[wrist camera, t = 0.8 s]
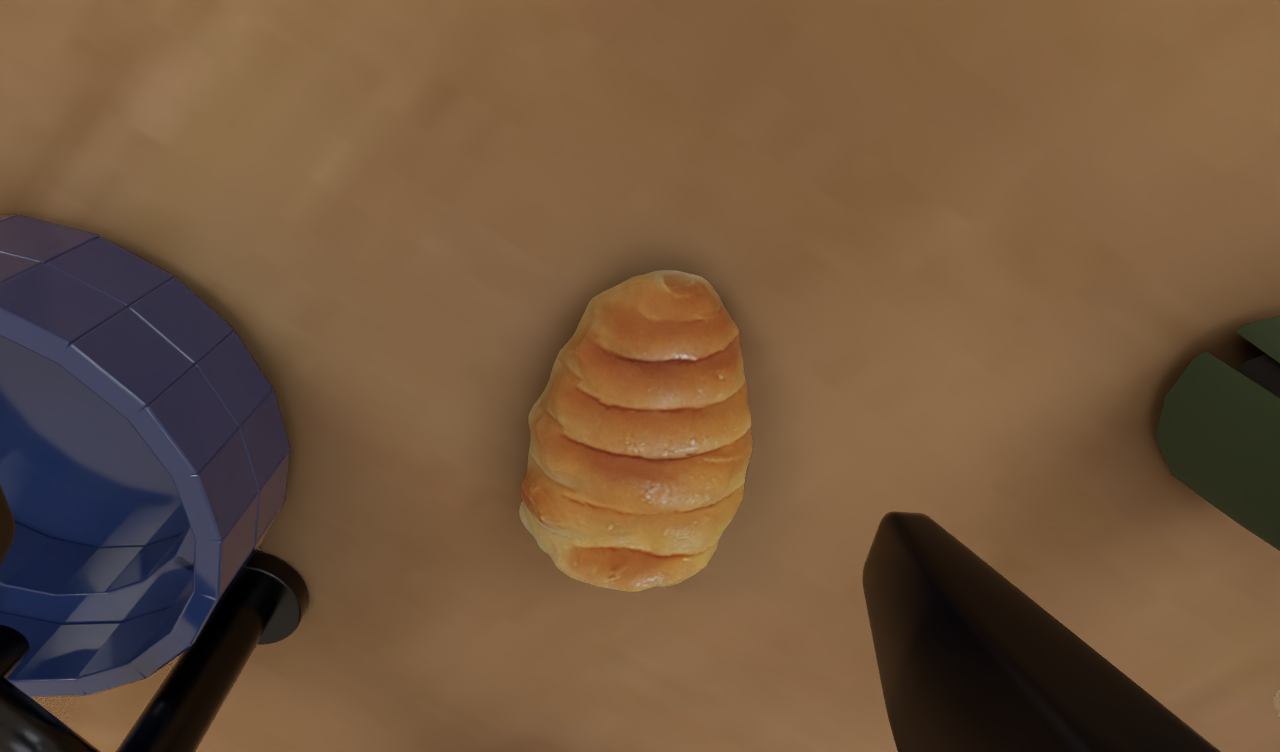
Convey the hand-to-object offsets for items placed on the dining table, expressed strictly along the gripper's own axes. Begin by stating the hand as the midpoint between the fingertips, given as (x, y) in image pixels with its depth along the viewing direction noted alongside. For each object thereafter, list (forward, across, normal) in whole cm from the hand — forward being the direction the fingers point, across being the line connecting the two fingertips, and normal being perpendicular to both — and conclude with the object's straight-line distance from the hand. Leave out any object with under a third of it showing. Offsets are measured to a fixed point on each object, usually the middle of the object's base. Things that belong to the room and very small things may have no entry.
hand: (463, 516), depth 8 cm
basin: (+14, +14, +10) cm, 22 cm away
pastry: (+14, -3, +8) cm, 16 cm away
